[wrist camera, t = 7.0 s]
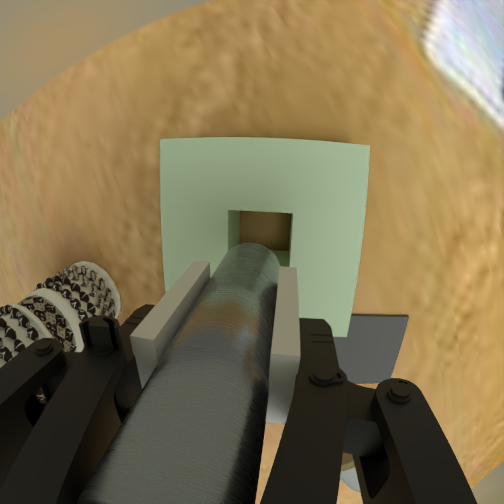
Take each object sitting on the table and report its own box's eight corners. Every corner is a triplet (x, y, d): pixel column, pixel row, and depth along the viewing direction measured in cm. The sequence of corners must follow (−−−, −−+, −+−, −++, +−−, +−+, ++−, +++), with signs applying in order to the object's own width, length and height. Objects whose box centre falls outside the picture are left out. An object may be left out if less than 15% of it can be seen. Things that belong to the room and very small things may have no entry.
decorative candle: (64, 246, 31) (-109, 349, 8) (128, 274, 31) (-46, 433, 8) (62, 310, 34) (-69, 425, 11) (120, 339, 34) (-1, 493, 11)
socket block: (188, 294, 31) (168, 322, 25) (185, 142, 27) (160, 139, 21) (337, 304, 30) (346, 336, 24) (352, 148, 25) (369, 145, 20)
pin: (221, 296, 17) (108, 537, 4) (221, 240, 16) (49, 474, 3) (278, 300, 17) (245, 571, 4) (282, 244, 16) (248, 534, 3)
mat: (314, 381, 33) (314, 383, 32) (326, 313, 30) (326, 315, 30) (387, 380, 32) (388, 382, 32) (407, 315, 29) (408, 317, 29)
